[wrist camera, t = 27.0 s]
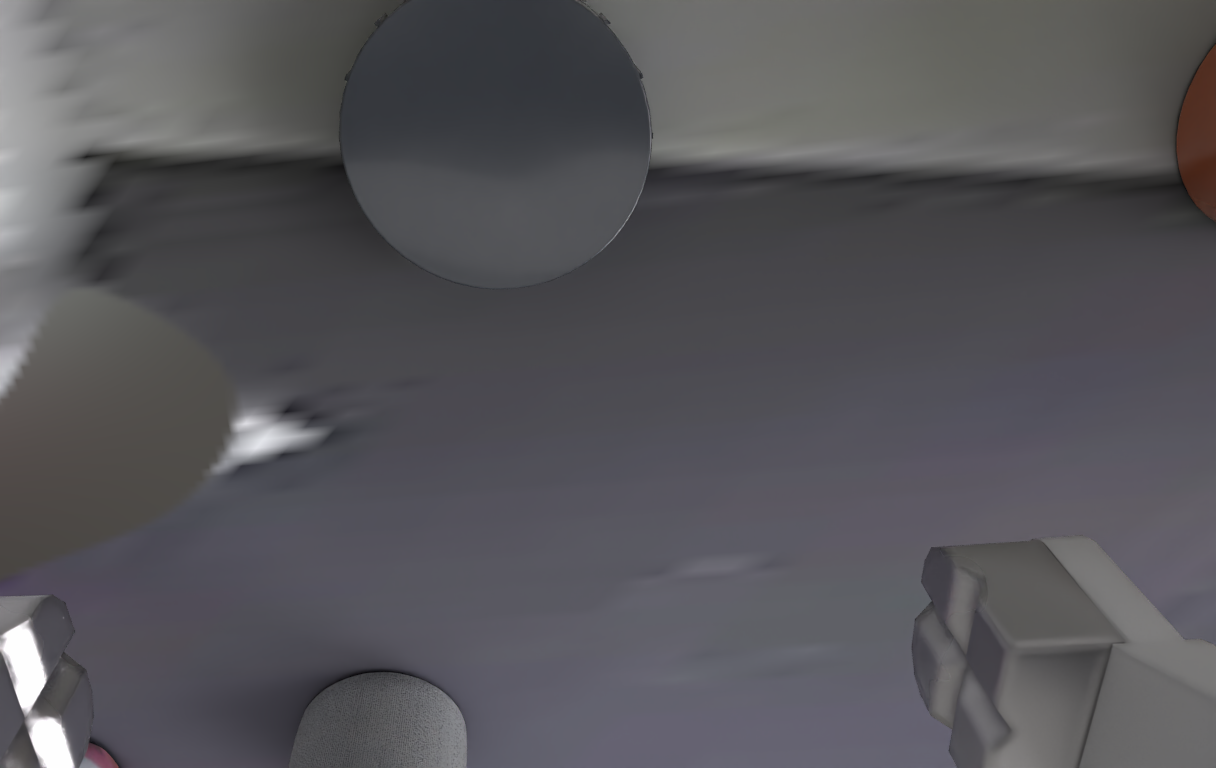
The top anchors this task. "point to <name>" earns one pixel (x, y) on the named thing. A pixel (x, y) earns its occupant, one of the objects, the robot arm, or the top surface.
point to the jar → (1200, 137)
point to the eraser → (97, 758)
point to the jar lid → (495, 137)
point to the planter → (381, 726)
